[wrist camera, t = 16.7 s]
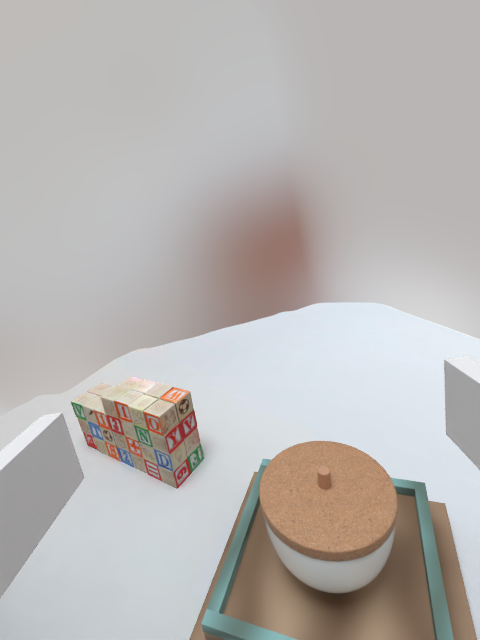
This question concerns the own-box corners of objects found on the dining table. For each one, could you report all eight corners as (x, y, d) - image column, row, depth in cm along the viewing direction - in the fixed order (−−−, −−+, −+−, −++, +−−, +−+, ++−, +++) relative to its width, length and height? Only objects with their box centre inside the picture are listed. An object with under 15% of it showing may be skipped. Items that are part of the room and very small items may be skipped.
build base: (174, 705, 26) (154, 653, 24) (256, 483, 45) (249, 441, 43) (521, 869, 18) (543, 815, 16) (443, 516, 37) (448, 468, 35)
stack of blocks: (86, 446, 58) (64, 385, 54) (116, 424, 63) (97, 366, 59) (178, 489, 46) (158, 415, 42) (205, 459, 51) (190, 389, 47)
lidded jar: (267, 502, 35) (257, 429, 32) (372, 497, 34) (372, 421, 31) (269, 625, 25) (254, 537, 22) (418, 624, 24) (425, 530, 21)
